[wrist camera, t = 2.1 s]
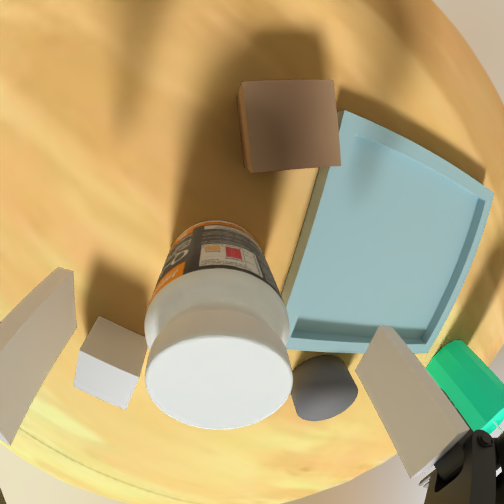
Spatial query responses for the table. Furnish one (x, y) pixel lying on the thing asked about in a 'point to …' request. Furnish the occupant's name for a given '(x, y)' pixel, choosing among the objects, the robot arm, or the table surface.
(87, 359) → the grey block
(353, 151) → the tray
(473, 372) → the candle
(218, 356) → the pill bottle
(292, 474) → the table surface
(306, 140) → the walnut block
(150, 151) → the table surface
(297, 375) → the dark grey stone
